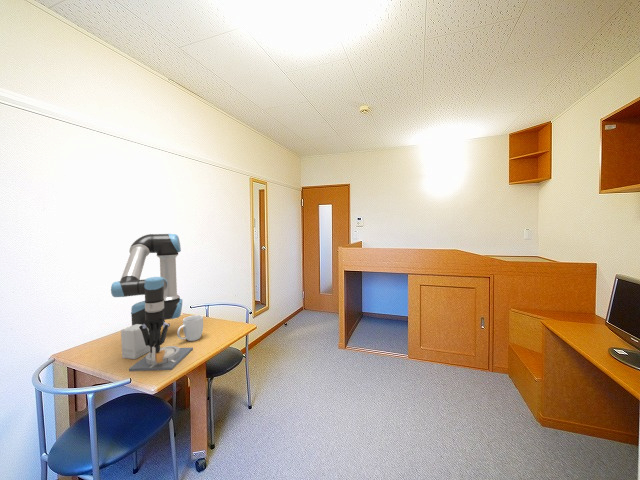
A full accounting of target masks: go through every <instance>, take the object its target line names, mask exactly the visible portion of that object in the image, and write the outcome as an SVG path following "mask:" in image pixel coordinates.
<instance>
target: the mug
mask: <svg viewBox="0 0 640 480" xmlns="http://www.w3.org/2000/svg"><path fill="white" fill-rule="evenodd" d="M203 316H204V315H202V314H201V315H200V314H194V315H189V316H186V317H184V318H183V319H182V325H180V326H179V327H178V328H177V332H176V334H177V338H179V339H180V340H187V342H195V341H198V340H199V339H200V338H201V337H202V334H203V330H204V317H203ZM182 328H183V329H182ZM181 329H182V331H183V335H184V337H181V335H180V331H181Z"/></svg>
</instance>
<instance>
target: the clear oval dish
mask: <svg viewBox="0 0 640 480" xmlns="http://www.w3.org/2000/svg"><path fill="white" fill-rule="evenodd" d="M160 348H161V349H160V351H159V352H158V353H156V363H160V362H162V361H163V357H167V356H169V355H171V354H173V353H174V352H175V350H174V349H173V348H162V347H160ZM151 356H152V355H151Z"/></svg>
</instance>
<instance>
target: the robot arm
mask: <svg viewBox="0 0 640 480" xmlns="http://www.w3.org/2000/svg"><path fill="white" fill-rule="evenodd" d="M181 251H182V248H181V242H180V238H179V236H178V234H175V233H156V234H155V233H152V234H151V233H150V234H144V235H142V236H140V237H138V238H137V239H136V240H134V242H133V243H132V244H131V245H130V248H129V256H128V259H127V262H126V264H125V267H124V270H123V271H122V272H123V273H122V275H121V277H120V280H118V281H114V282H112V284H111V286H110V292H111V296H112V297H113V298H124V297H125V298H127V297H134V296H135V297H136V296H144V300H142V301H139V302H136V303H134V304H133V305H132V306H131V309H130V310H131V312H130V315H131V316H130V317H131V326H133V325H135V324H142V325H141V326H140V327H139V328H140V330H141V331H142V334H143V338H144V341H145V345H146V346H150V352H149V353H152V361H155V360H156V353H158V352H159V351H160V348H161V346H162V345H164V343H165V341H166V337H167V333H168V329H169V328H170V326H171V323H167V322H166V321H167V320H173V319H178V318H180V317H181V314H182V310H183V309H182V308H183V298H181V297H180V295H178V288H177V287H178V286H177V284H178V283H177V263H176V262H177V260H176V259H177V257H178V256H179V253H181ZM153 253H154V254H156V257H157V258H159V271H160V276H153V277H151V276H150V277H147V278H145V279H141V275H142V271H143V269H144V265H145V261H146V259H147V257H148V255H149V254H153ZM162 327H163V328H162ZM147 328H148V329H149V332H148V329H147ZM161 330H162V331H161Z"/></svg>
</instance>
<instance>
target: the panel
mask: <svg viewBox="0 0 640 480" xmlns="http://www.w3.org/2000/svg"><path fill="white" fill-rule="evenodd" d="M161 348H173V349H174V350H175V352H174V353H173V354H171V355H169V356H167V357H163V361H162V362H160V363H156V360H155V361H152V356H151V355H152V353H150V352H148V353H146V354H145V355H146V356H144V357H142V358H141V359H140V360H139V361H137V362H135V363H134V364H132V366H130V367H129V368H128V372H140V371H142V372H145V371H172V370H173V369H174V368H175V367H176V366H177V365H179V364H180V362H182V361H183V360H184V359H185V358H186V356H188V355H189V354H190V353H191V352H192V351H194V349H193V346H192V347H191V346H190V347H179V346H175V345H168V346H163V347H160V349H161Z"/></svg>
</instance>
